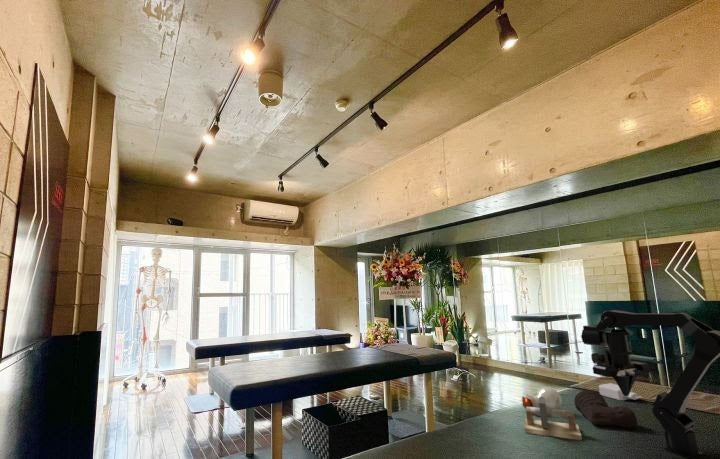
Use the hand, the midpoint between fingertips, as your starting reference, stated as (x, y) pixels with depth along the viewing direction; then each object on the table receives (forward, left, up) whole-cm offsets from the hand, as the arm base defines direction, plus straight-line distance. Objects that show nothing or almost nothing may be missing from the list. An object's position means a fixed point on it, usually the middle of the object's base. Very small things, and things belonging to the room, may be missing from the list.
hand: (626, 395), depth 115 cm
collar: (+14, +22, -11) cm, 28 cm away
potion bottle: (+30, +8, -13) cm, 34 cm away
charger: (+33, -37, -14) cm, 51 cm away
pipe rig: (+13, +20, -13) cm, 27 cm away
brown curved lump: (+14, -5, -13) cm, 20 cm away
